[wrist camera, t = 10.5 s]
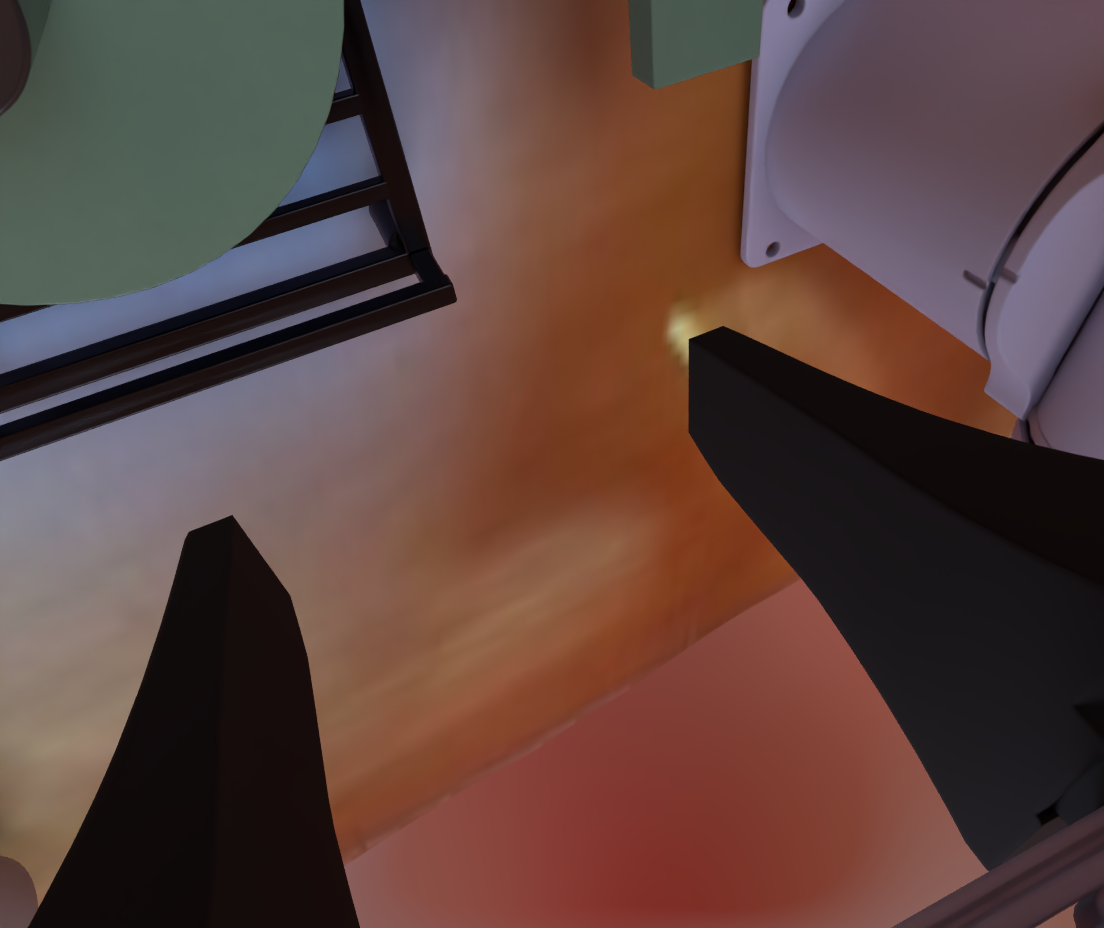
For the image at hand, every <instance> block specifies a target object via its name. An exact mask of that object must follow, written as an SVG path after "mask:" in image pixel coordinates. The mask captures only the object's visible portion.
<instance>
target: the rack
mask: <svg viewBox="0 0 1104 928" xmlns="http://www.w3.org/2000/svg"><path fill="white" fill-rule="evenodd" d="M341 58H342V61H343V65H344V68H345V71H346V74H347V77H348V80H349V83H350V87H351V89H348V90H344V91H341V92H338V93H334V96H333V100H332V104H331V108H330V112H329V115H328V118H327V120H326V123H325V125H326V124H330V123H333V122H336V121H340V120H343V119H346V118H350V117H353V116H357V115H360V118H361V121H362V124H363V128H364V131H365V134H366V137H367V140H368V143H369V146H370V150H371V153H372V156H373V159H374V162H375V165H376V168H377V172H378V175H379V176H377V177H374V178H371V179H368V180H365V181H361V182H358V183H355V184H352V185H349V186H345V187H342V188H339V189H336V190H333V191H329V192H326V193H323V194H320V195H317V196H313V197H310V198H307V199H304V200H301V201H297V202H294V203H291V204H288V205H284V206H281V207H278V208H276V209H275V210H274V211H273V212H272V213H271V214H270V215H269V216H268V217H267V218H266V219H265V220H264V221H263V222H262V223H261V224H260V225H259V226H258V227H257V228H256V229H255V230H254V231H253V232H252V233H251V234H250V235H249V236H247V237H246V238H245V239H243V240H242V241H241V242H239V243H238V244H236V245H235V246H234V247H232V248H231V249H233V248H236V247H239V246H242V245H245V244H249V243H252V242H255V241H258V240H261V239H264V238H267V237H271V236H274V235H277V234H280V233H283V232H286V231H289V230H293V229H296V228H299V227H302V226H305V225H308V224H311V223H315V222H318V221H321V220H324V219H327V218H330V217H333V216H337V215H340V214H343V213H346V212H349V211H352V210H355V209H359V208H362V207H365V206H368V205H369V212H370V215H371V217H372V219H373V221H374V223H375V225H376V227H377V229H378V230H379V232H380V234H381V236H382V238H383V240H384V242H385V244H386V246H387V247H385V248H382V249H379V250H376V251H373V252H370V253H367V254H364V255H361V256H358V257H355V258H352V259H349V260H346V261H343V262H340V263H337V264H334V265H330V266H327V267H324V268H321V269H318V270H315V271H312V272H309V273H306V274H303V275H300V276H297V277H294V278H291V279H288V280H285V281H282V282H279V283H276V284H273V285H270V286H267V287H264V288H261V289H258V290H255V291H252V292H249V293H246V294H242V295H239V296H236V297H233V298H230V299H227V300H224V301H221V302H218V303H215V304H212V305H209V306H206V307H203V308H200V309H197V310H194V311H191V312H188V313H185V314H182V315H179V316H176V317H173V318H170V319H167V320H164V321H161V322H158V323H155V324H151V325H148V326H145V327H142V328H139V329H136V330H133V331H130V332H127V333H124V334H121V335H118V336H115V337H112V338H109V339H106V340H103V341H100V342H97V343H94V344H91V345H88V346H85V347H82V348H79V349H76V350H73V351H70V352H67V353H63V354H60V355H57V356H54V357H51V358H48V359H45V360H42V361H39V362H36V363H33V364H30V365H27V366H24V367H21V368H18V369H15V370H12V371H9V372H6V373H3V374H0V414H1V413H4V412H7V411H10V410H13V409H16V408H19V407H22V406H25V405H28V404H31V403H33V402H36V401H39V400H42V399H45V398H48V397H51V396H54V395H57V394H60V393H63V392H66V391H69V390H72V389H75V388H78V387H81V386H84V385H87V384H90V383H93V382H96V381H99V380H101V379H104V378H107V377H110V376H113V375H116V374H119V373H122V372H125V371H128V370H131V369H134V368H137V367H140V366H143V365H146V364H149V363H152V362H155V361H158V360H161V359H164V358H167V357H169V356H172V355H175V354H178V353H181V352H184V351H187V350H190V349H193V348H196V347H199V346H202V345H205V344H208V343H211V342H214V341H217V340H220V339H223V338H226V337H229V336H232V335H235V334H237V333H240V332H243V331H246V330H249V329H252V328H255V327H258V326H261V325H264V324H267V323H270V322H273V321H276V320H279V319H282V318H285V317H288V316H291V315H294V314H297V313H300V312H302V311H305V310H308V309H311V308H314V307H317V306H320V305H323V304H326V303H329V302H332V301H335V300H338V299H341V298H344V297H347V296H350V295H353V294H356V293H359V292H362V291H365V290H368V289H370V288H373V287H376V286H379V285H382V284H385V283H388V282H391V281H394V280H397V279H400V278H403V277H406V276H409V275H412V274H416V276H417V278H418V280H419V282H420V283H417V284H414V285H411V286H408V287H405V288H403V289H400V290H397V291H394V292H391V293H388V294H385V295H382V296H379V297H376V298H373V299H370V300H367V301H364V302H361V303H359V304H356V305H353V306H350V307H347V308H344V309H341V310H338V311H335V312H332V313H329V314H326V315H323V316H320V317H317V318H315V319H312V320H309V321H306V322H303V323H300V324H297V325H294V326H291V327H288V328H285V329H282V330H279V331H276V332H273V333H271V334H268V335H265V336H262V337H259V338H256V339H253V340H250V341H247V342H244V343H241V344H238V345H235V346H232V347H229V348H227V349H224V350H221V351H218V352H215V353H212V354H209V355H206V356H203V357H200V358H197V359H194V360H191V361H188V362H185V363H183V364H180V365H177V366H174V367H171V368H168V369H165V370H162V371H159V372H156V373H153V374H150V375H147V376H144V377H141V378H139V379H136V380H133V381H130V382H127V383H124V384H121V385H118V386H115V387H112V388H109V389H106V390H103V391H100V392H97V393H95V394H92V395H89V396H86V397H83V398H80V399H77V400H74V401H71V402H68V403H65V404H62V405H59V406H56V407H53V408H51V409H48V410H45V411H42V412H39V413H36V414H33V415H30V416H27V417H24V418H21V419H18V420H15V421H12V422H9V423H7V424H4V425H1V426H0V461H2V460H5V459H8V458H11V457H14V456H16V455H19V454H22V453H25V452H28V451H31V450H34V449H36V448H39V447H42V446H45V445H48V444H51V443H54V442H57V441H59V440H62V439H65V438H68V437H71V436H74V435H77V434H80V433H82V432H85V431H88V430H91V429H94V428H97V427H100V426H102V425H105V424H108V423H111V422H114V421H117V420H120V419H123V418H125V417H128V416H131V415H134V414H137V413H140V412H143V411H145V410H148V409H151V408H154V407H157V406H160V405H163V404H166V403H168V402H171V401H174V400H177V399H180V398H183V397H186V396H188V395H191V394H194V393H197V392H200V391H203V390H206V389H209V388H211V387H214V386H217V385H220V384H223V383H226V382H229V381H232V380H234V379H237V378H240V377H243V376H246V375H249V374H252V373H254V372H257V371H260V370H263V369H266V368H269V367H272V366H275V365H277V364H280V363H283V362H286V361H289V360H292V359H295V358H297V357H300V356H303V355H306V354H309V353H312V352H315V351H318V350H320V349H323V348H326V347H329V346H332V345H335V344H338V343H340V342H343V341H346V340H349V339H352V338H355V337H358V336H361V335H363V334H366V333H369V332H372V331H375V330H378V329H381V328H384V327H386V326H389V325H392V324H395V323H398V322H401V321H404V320H406V319H409V318H412V317H415V316H418V315H421V314H424V313H427V312H429V311H432V310H435V309H438V308H441V307H444V306H447V305H449V304H452V303H455V302H457V298H456V294H455V290H454V287H453V284H452V282H451V280H450V279H449V277H448V276H447V275H446V274H444V273H443V271H442V270H441V268H440V266H439V265H438V263H437V261H436V260H435V258H434V256H433V254H432V250H431V247H430V243H429V240H428V236H427V232H426V229H425V225H424V222H423V218H422V215H421V211H420V208H419V204H418V201H417V197H416V194H415V190H414V187H413V183H412V180H411V176H410V173H409V169H408V166H407V162H406V159H405V155H404V152H403V148H402V145H401V141H400V138H399V134H398V131H397V127H396V124H395V120H394V117H393V113H392V110H391V106H390V103H389V99H388V96H387V92H386V89H385V85H384V82H383V78H382V75H381V71H380V68H379V64H378V61H377V57H376V54H375V50H374V47H373V43H372V39H371V36H370V32H369V29H368V25H367V22H366V18H365V15H364V11H363V8H362V4H361V1H360V0H344V34H343V43H342V52H341ZM54 305H57V304H53V305H11V304H0V322H3V321H7V320H10V319H13V318H16V317H19V316H22V315H25V314H29V313H32V312H35V311H38V310H41V309H44V308H47V307H51V306H54Z"/></svg>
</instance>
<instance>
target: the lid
mask: <svg viewBox="0 0 1104 928" xmlns="http://www.w3.org/2000/svg"><path fill="white" fill-rule="evenodd" d="M343 34H344V0H0V304H11V305H53V304H74V303H81V302H88V301H95V300H102V299H109V298H115V297H119V296H123V295H127V294H131V293H135V292H139V291H142V290H146V289H150V288H154V287H156V286H159V285H161V284H164V283H166V282H169V281H171V280H174V279H177V278H179V277H182V276H184V275H187V274H189V273H191V272H193V271H194V270H196V269H198V268H200V267H202V266H204V265H205V264H207V263H209V262H211V261H213V260H215V259H216V258H218V257H220V256H222V255H223V254H224V253H226V252H227V251H228V250H230V249H231V248H232V247H234V246H235V245H236V244H238V243H239V242H241V241H242V240H243V239H245V238H246V237H247V236H249V235H250V234H251V233H252V232H253V231H254V230H255V229H256V228H257V227H258V226H259V225H260V224H261V223H262V222H263V221H264V220H265V219H266V218H267V217H268V216H269V215H270V214H271V213H272V212H273V211H274V210H275V209H276V208H277V207H278V205H279V204H280V203H281V202H282V200H283V199H284V198H285V196H286V195H287V194H288V192H289V191H290V190H291V188H292V187H293V186H294V185H295V183H296V182H297V180H298V179H299V177H300V175H301V173H302V172H303V170H304V168H305V166H306V164H307V163H308V161H309V159H310V157H311V156H312V154H313V152H314V150H315V148H316V146H317V143H318V141H319V138H320V135H321V133H322V130H323V128H324V125H325V123H326V120H327V118H328V115H329V112H330V108H331V104H332V100H333V96H334V92H335V88H336V84H337V79H338V75H339V70H340V61H341V52H342V43H343Z"/></svg>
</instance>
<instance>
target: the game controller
mask: <svg viewBox="0 0 1104 928" xmlns="http://www.w3.org/2000/svg"><path fill="white" fill-rule="evenodd" d="M37 910H38V903H37V895H36V891H35V887H34V884H33V881H32V879H31V877H30V875H29V873H28V872H27V870H26V869H25V868H24V867H23V866H22V865H21V864H20V863H19V862H17V861H15V860H13V859H11V858H8V857H4V856H0V928H28V926H29V924H30V922H31V921H32V919H33V917H34V915H35V913H36V912H37Z"/></svg>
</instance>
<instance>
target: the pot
mask: <svg viewBox="0 0 1104 928" xmlns="http://www.w3.org/2000/svg"><path fill="white" fill-rule="evenodd" d="M628 3H629V22H630V41H631V61H632V74H633V76H634V77H636V78H637V79H639V80H641V81H642V82H644V83H645V84H647V85H648V86H650V87H651V88H653V89H658V88H661V87H664V86H668V85H671V84H674V83H677V82H681V81H684V80H687V79H690V78H693V77H697V76H700V75H703V74H706V73H709V72H713V71H716V70H719V69H722V68H725V67H729V66H732V65H735V64H738V63H741V62H745V61H748V60H751V59H754V58H757V57H759V55H760V41H761V26H762V11H763V0H628Z"/></svg>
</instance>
